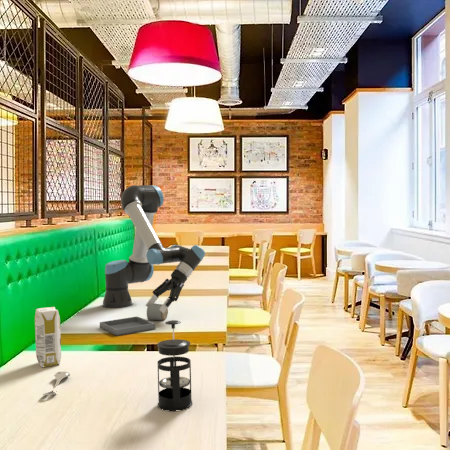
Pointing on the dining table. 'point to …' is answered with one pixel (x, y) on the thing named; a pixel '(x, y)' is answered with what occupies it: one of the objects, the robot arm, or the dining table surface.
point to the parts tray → (127, 326)
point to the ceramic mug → (156, 312)
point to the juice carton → (47, 336)
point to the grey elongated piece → (58, 380)
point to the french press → (174, 374)
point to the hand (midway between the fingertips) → (154, 309)
